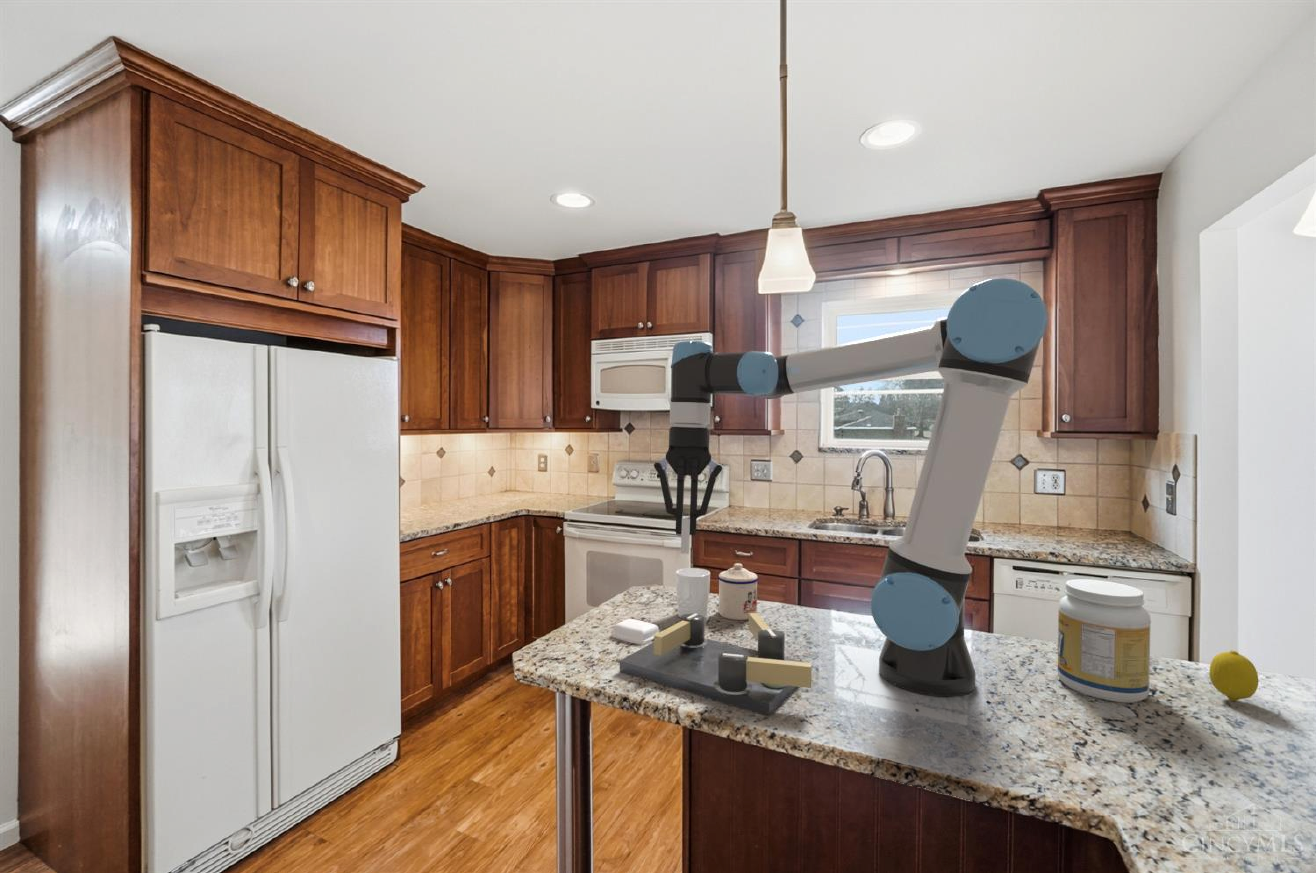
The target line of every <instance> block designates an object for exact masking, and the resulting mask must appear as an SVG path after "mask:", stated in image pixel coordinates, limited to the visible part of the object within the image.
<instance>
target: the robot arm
mask: <svg viewBox="0 0 1316 873" xmlns="http://www.w3.org/2000/svg"><path fill="white" fill-rule="evenodd" d="M1048 322H1049V315H1048V310H1047V307H1046V303H1045V301H1043V299H1042V297H1041V296H1040V294H1039V293H1038V292H1037V291H1036V290H1035V289H1034V288H1033V287H1031V286H1030V285H1028V284H1027V283H1025V282H1024V281H1023V282H1022V281H1020V280H1016V279H1012V278H1004V277H999V278H990V279H986V280H983V281H981V282H977V283H975V284H973V285H972V286H970V287H968V288H967V289H965V290H964V291H963V292H962V293H961V294H960V295H959V296H958V297H957V299H955V301H954V302H953V304H952V306H951V308H950V309H949V311H948V314H947V316H946V317H940V318H938V319H937V320H936V321H935V322H934V323H933V325H931V326H927V327H926V326H925V327H920V328H917V329H916V328H915V329H911V330H906V331H901V332H896V333H891V334H890V333H889V334H885V335H881V336H876V337H871V338H864V339H861V340H856V341H851V342H845V343H841V344H835V345H832V346H831V345H830V346H826V347H825V346H824V347H821V348H816V349H812V350H806V351H800V352H795V353H791V354H786V355H780V356H775V355H774V354H773V353H772V352H769V351H756V350H750V351H737V352H736V351H735V352H714V348H713V345H712V344H711V343H710V342H708V341H707V342H706V341H698V340H696V341H695V340H694V341H692V340H686V341H685V340H684V341H678V342H677V343H675V344H674V346H673V347H672V356H671V364H670V369H671V371H670V372H671V374H670V375H671V377H670V403H669V424H672V426H670V428H669V429H668V448H667V449H668V450H667V452H665V457H664V458H662V459H661V460H659V461H656V462H655V463H654V464H653V467H654V469H655V471H656V472H657V474H658V476H659V477H658V478H659V481H660V486H661V491H662V496H663V501H664V507H665V511H666V513H667V514H668V515H672V516H674V517H675V531H674V532H675V533H676V535H678V536H679V535H680V536H681V537H680V540H681V541H680V554H684V555H689V554H690V549H691V548H690V547H691V546H690V543H691V536H695V535H696V534H697V521H698V520H697V519H698V517H702V516H705V515H706V514H707V511H708V508H709V504H710V501H711V498H712V494H713V490H714V486H715V483H716V479H717V477H718V476H719V474H721V472H722V470H723V465H722V464H721V463H718V462H716V461H715V460H713V458H712V455H711V453H710V436H711V435H710V434H711V433H710V430H711V429H710V428H709V427H708V425H710V424H711V407H712V406H711V405H712V404H711V401H712V400H711V399H712V395H732V396H733V395H735V396H736V395H737V396H738V395H740V396H741V395H742V396H749V397H755V398H762V399H765V400H775V399H780V398H782V397H784V396H788V395H793V394H798V393H804V392H812V391H816V390H824V389H829V388H831V389H832V388H836V387H842V386H848V385H855V384H860V383H867V382H868V383H869V382H872V381H873V382H874V381H875V382H876V381H879V380H886V379H891V378H892V379H893V378H898V377H905V376H910V375H917V374H923V373H930V372H931V373H932V372H935V371H936V372H938V373H939V374H940V376H941V377H942V379H943V381H944V388H943V392H942V395H941V399H940V403H939V405H938V410H937V414H936V417H935V420H934V424H933V428H932V432H931V435H930V437H929V442H928V445H927V448H926V452H925V455H924V456H925V457H924V459H923V460H924V461H923V463H922V467H921V469H920V470H921V471H920V475H919V479H918V481H917V484H916V485H917V486H916V489H915V492H914V496H913V500H912V503H911V505H910V506H911V507H910V510H909V514H908V517H907V521H906V525H905V529H904V532H903V535H902V536H901V537H899V538H897V539H896V540H895V539H894V540H893V541H891V542H890V544H889V547H888V549H887V552H886V556H885V560H884V563H883V566H882V572H881V574H880V577H879V581H878V582H877V583H876V584H875V586H874V587H873V589H872V592H871V595H870V611H871V615H872V618H873V620H874V621H873V622H874V623H875V625H876V626H877V628H878V629H879V631H880V632H881V633H882V635H884V636H885V637H886V638H885V641H884V644H883V645H882V646H883V647H882V649H881V652H880V655H879V656H878V657H879V658H878V673H879V674H880V675H881V677H882V678H884V679H885V680H886V681H887V682H889V683H891V684H893V685H894V686H897V687H898V688H901V689H904V690H907V691H910V692H913V693H918V694H922V695H928V696H937V697H958V696H963V695H968V694H970V693H972V692H973V691H974V690H975V689H976V676H977V674H976V670H975V668H974V664H973V661H972V658H971V654H970V652H969V649H968V645H967V643H966V642H967V641H966V640H965V639H966V638H965V608H966V607H965V606H966V605H965V604H966V603H965V602H966V601H965V596H966V592H967V590H968V587H969V582H970V580H971V579H970V578H971V575H972V572H973V568H972V566H971V564H970V562H969V561H968V559H967V557H966V555H965V554H966V551H967V547H968V543H969V540H970V537H971V534H972V531H973V528H974V527H973V526H974V523H975V519H976V516H977V513H978V509H979V506H980V503H981V499H982V495H983V492H984V489H985V486H986V482H987V479H988V476H989V471H990V469H991V465H992V463H993V462H992V461H993V458H994V456H995V451H996V448H997V445H998V442H999V437H1000V436H1001V431H1002V428H1003V425H1004V422H1005V418H1006V414H1007V411H1008V408H1009V404H1010V401H1011V397H1012V396H1013V395H1014V394H1015V393H1017V392H1019V391H1021V390H1022V389H1024V388H1026V387H1027V386H1028V383H1029V380H1030V377H1031V373H1032V370H1033V367H1034V363H1035V361H1036V356H1037V354H1038V350H1039V348H1040V347H1039V346H1040V343H1041V340H1042V338H1043V337H1044V335H1045V332H1046V330H1047V328H1048ZM668 464H669V466H670V467H671V469H672V470H673V472H674V473H675V474H676V503H675V504H676V505H675V507H674V503H673V498H672V493H671V489H670V483H669V479H668V474H667V470H668ZM707 466H709V468H708V471H709V473H710V474H709V477H708V481H707V484H706V487H705V491H704V495H703V498H702V502H701V505H700V507H699V508H698V491H699V490H698V489H699V488H698V486H699V485H698V484H699V476H701V474H702V473H703V472H704V470H705V469H706V468H707ZM686 476H689V477H690V497H689V498H690V507H689V515H684V500H685V499H684V496H685V495H684V494H685V477H686Z"/></svg>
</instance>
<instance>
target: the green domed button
mask: <svg viewBox="0 0 1316 873" xmlns="http://www.w3.org/2000/svg"><path fill="white" fill-rule="evenodd" d="M763 684H764V685H765V686H768V687H771V688H783V687H786V686H787V685H778V684H768V683H763Z"/></svg>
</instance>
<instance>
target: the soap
mask: <svg viewBox="0 0 1316 873" xmlns="http://www.w3.org/2000/svg"><path fill="white" fill-rule="evenodd" d="M658 633H660V631H659V626H658V625H657V624H653V623H650V622H646V621H642V620H638V619H635V618H634V619H633V618H628V619H624V620H622V621H620V622H618V623H616V624H615V625H613V627H612V632H611V633H610V636H611V637H612V638H615V639H618V640H620V641H624V642H629V643H632V644H637V645H642V646H645V645H647V644H648V645H649V643H650V644H651V643H653V642H652V641H654V635H656V634H658Z"/></svg>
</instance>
